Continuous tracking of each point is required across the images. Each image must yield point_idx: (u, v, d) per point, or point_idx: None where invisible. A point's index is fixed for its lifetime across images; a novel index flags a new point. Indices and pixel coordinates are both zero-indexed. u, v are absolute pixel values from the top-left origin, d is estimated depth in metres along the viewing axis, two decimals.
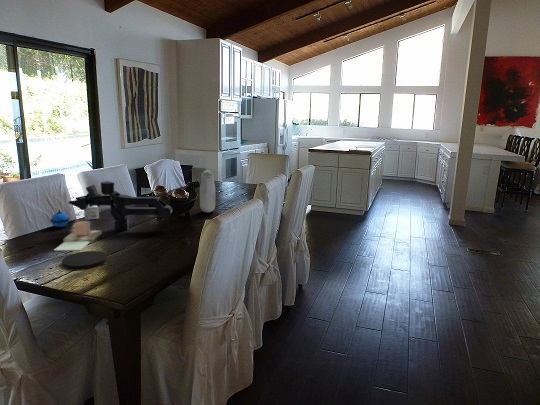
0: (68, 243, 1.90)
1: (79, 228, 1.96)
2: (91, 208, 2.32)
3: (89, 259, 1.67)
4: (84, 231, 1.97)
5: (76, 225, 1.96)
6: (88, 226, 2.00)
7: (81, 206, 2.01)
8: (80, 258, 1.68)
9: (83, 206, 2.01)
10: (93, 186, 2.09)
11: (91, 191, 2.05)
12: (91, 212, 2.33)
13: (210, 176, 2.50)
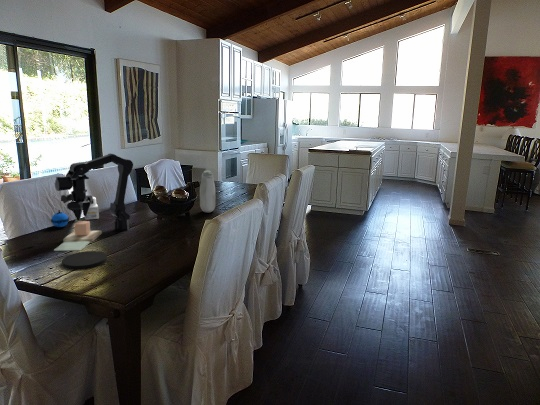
0: (68, 243, 1.90)
1: (79, 228, 1.96)
2: (91, 208, 2.32)
3: (89, 259, 1.67)
4: (84, 231, 1.97)
5: (76, 225, 1.96)
6: (88, 226, 2.00)
7: (75, 207, 1.87)
8: (80, 258, 1.68)
9: (75, 205, 1.87)
10: None
11: (64, 197, 1.91)
12: (91, 212, 2.33)
13: (210, 176, 2.50)
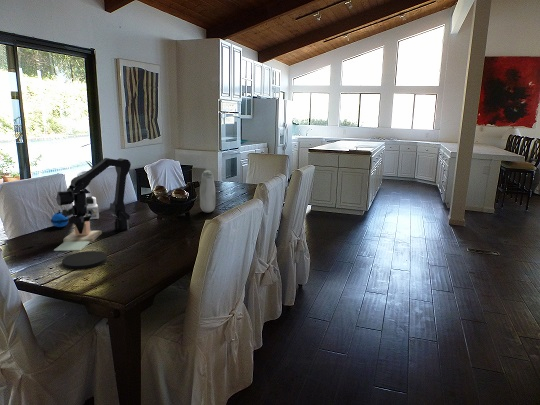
0: (68, 243, 1.90)
1: None
2: (91, 208, 2.32)
3: (89, 259, 1.67)
4: (84, 231, 1.97)
5: None
6: (88, 226, 2.00)
7: (76, 221, 1.89)
8: (80, 258, 1.68)
9: (76, 220, 1.89)
10: None
11: (65, 211, 1.92)
12: None
13: (210, 176, 2.50)
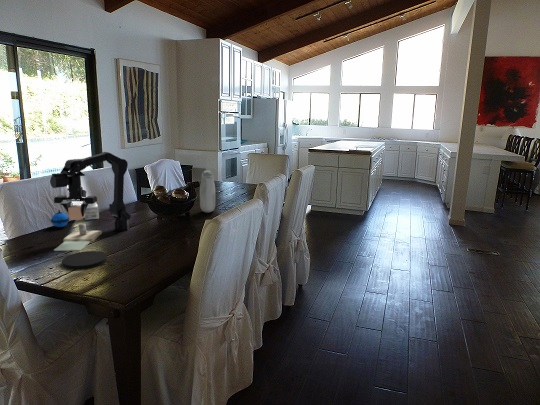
0: (68, 243, 1.90)
1: None
2: (91, 208, 2.32)
3: (89, 259, 1.67)
4: None
5: None
6: (75, 212, 1.90)
7: None
8: (80, 258, 1.68)
9: None
10: None
11: None
12: (91, 212, 2.33)
13: (210, 176, 2.50)
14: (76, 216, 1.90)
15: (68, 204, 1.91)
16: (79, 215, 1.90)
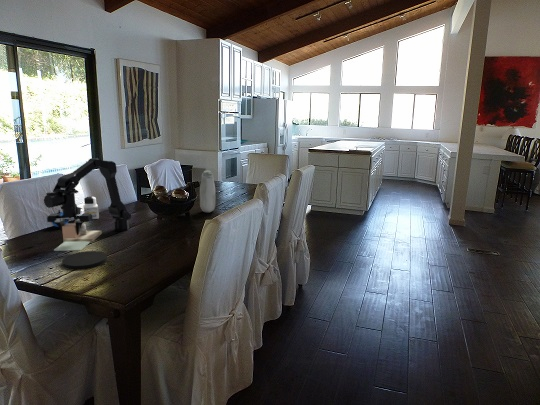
0: (68, 243, 1.90)
1: None
2: (91, 208, 2.32)
3: (89, 259, 1.67)
4: None
5: None
6: (69, 231, 1.82)
7: None
8: (80, 258, 1.68)
9: None
10: None
11: None
12: (91, 212, 2.33)
13: (210, 176, 2.50)
14: (71, 235, 1.83)
15: (62, 222, 1.83)
16: (74, 234, 1.83)
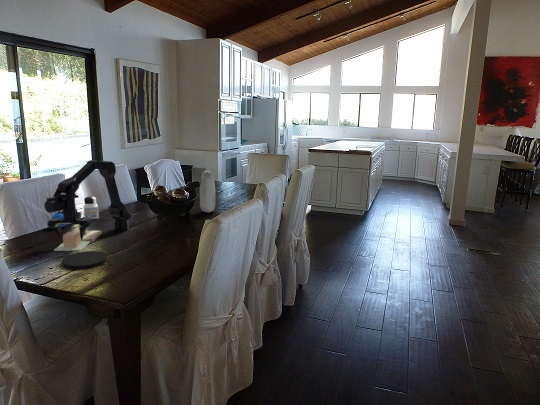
0: None
1: None
2: (91, 208, 2.32)
3: (89, 259, 1.67)
4: None
5: None
6: (70, 239, 1.83)
7: None
8: (80, 258, 1.68)
9: None
10: None
11: None
12: (91, 212, 2.33)
13: (210, 176, 2.50)
14: (71, 244, 1.84)
15: (59, 227, 1.84)
16: (74, 243, 1.84)
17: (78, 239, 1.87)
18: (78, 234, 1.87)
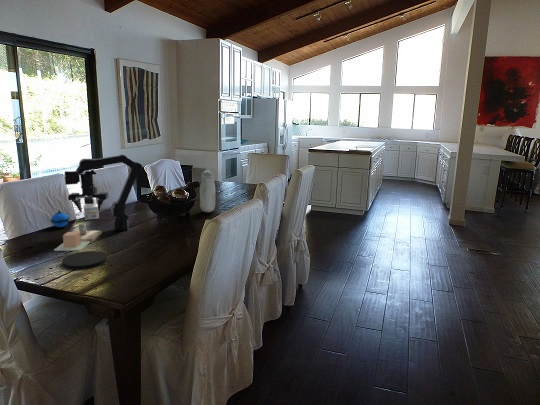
0: None
1: None
2: (91, 208, 2.32)
3: (89, 259, 1.67)
4: None
5: None
6: (70, 239, 1.83)
7: None
8: (80, 258, 1.68)
9: None
10: None
11: None
12: (91, 212, 2.33)
13: (210, 176, 2.50)
14: (71, 244, 1.84)
15: (78, 201, 2.02)
16: (74, 243, 1.84)
17: (78, 239, 1.87)
18: (78, 234, 1.87)
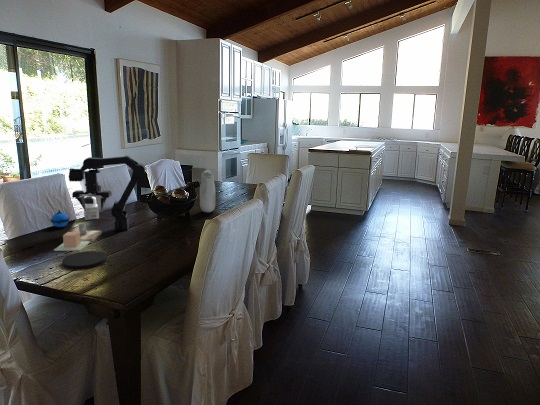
0: None
1: None
2: (91, 208, 2.32)
3: (89, 259, 1.67)
4: None
5: None
6: (70, 239, 1.83)
7: None
8: (80, 258, 1.68)
9: None
10: None
11: None
12: (91, 212, 2.33)
13: (210, 176, 2.50)
14: (71, 244, 1.84)
15: (82, 198, 2.07)
16: (74, 243, 1.84)
17: (78, 239, 1.87)
18: (78, 234, 1.87)
